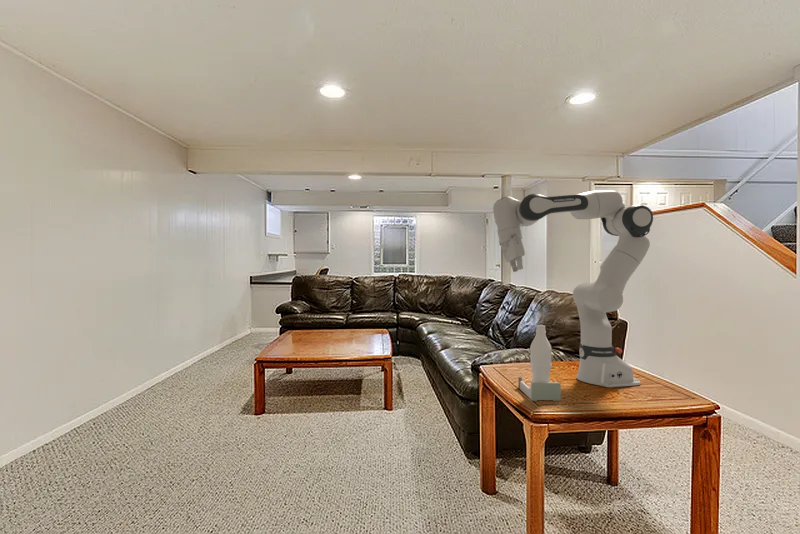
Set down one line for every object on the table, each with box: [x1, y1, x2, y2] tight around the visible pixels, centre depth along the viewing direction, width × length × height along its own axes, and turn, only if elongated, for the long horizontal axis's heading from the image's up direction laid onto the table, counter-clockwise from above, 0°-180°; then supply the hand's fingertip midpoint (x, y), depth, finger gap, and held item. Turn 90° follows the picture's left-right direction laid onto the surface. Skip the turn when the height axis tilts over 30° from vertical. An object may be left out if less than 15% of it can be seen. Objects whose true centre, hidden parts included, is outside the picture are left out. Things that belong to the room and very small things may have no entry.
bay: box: [518, 376, 562, 402], centre depth 134 cm, size 10×14×6 cm
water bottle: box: [529, 324, 553, 389], centre depth 131 cm, size 7×7×25 cm
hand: (517, 270), depth 147 cm, fingers open, 8 cm apart
